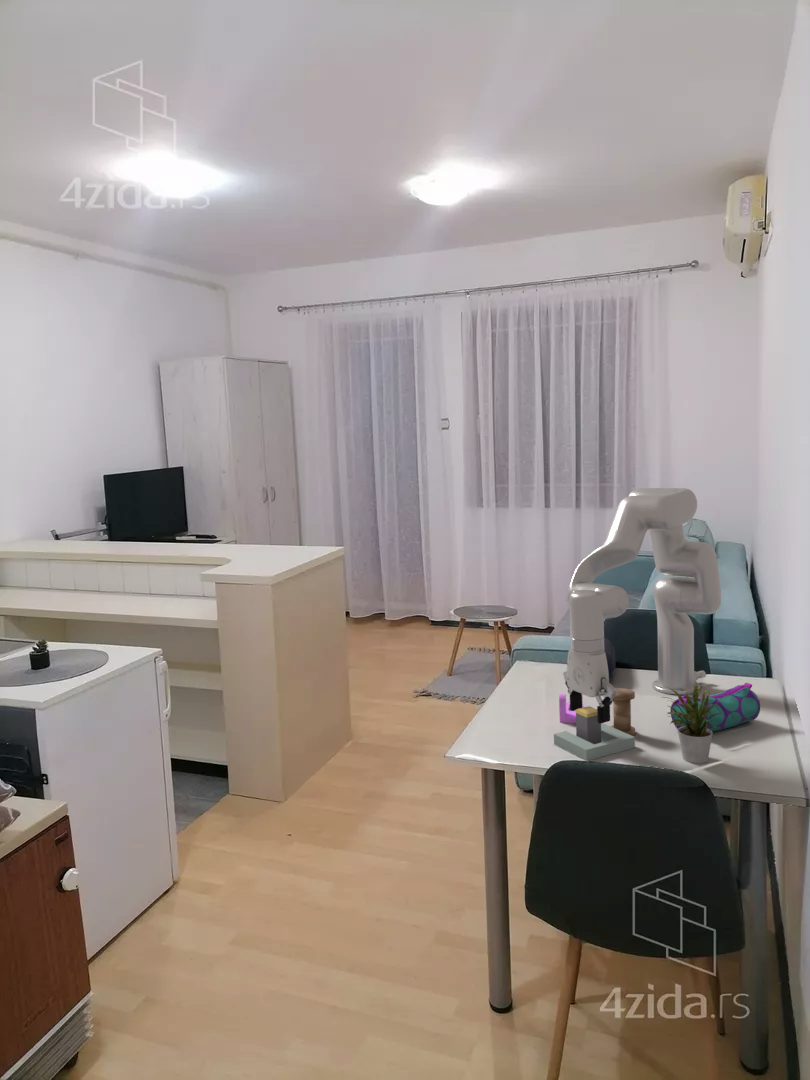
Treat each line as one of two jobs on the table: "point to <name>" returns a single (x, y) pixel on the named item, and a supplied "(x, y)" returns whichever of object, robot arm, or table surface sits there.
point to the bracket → (566, 710)
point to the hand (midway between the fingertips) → (589, 715)
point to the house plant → (694, 727)
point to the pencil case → (726, 707)
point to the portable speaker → (610, 656)
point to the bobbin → (623, 711)
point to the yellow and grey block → (588, 725)
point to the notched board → (587, 751)
